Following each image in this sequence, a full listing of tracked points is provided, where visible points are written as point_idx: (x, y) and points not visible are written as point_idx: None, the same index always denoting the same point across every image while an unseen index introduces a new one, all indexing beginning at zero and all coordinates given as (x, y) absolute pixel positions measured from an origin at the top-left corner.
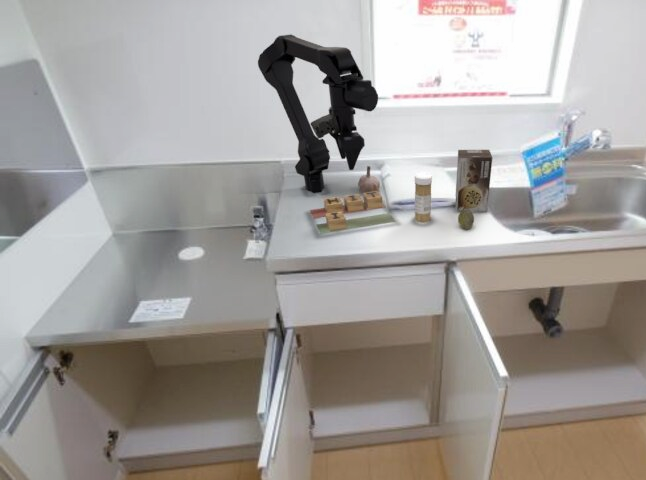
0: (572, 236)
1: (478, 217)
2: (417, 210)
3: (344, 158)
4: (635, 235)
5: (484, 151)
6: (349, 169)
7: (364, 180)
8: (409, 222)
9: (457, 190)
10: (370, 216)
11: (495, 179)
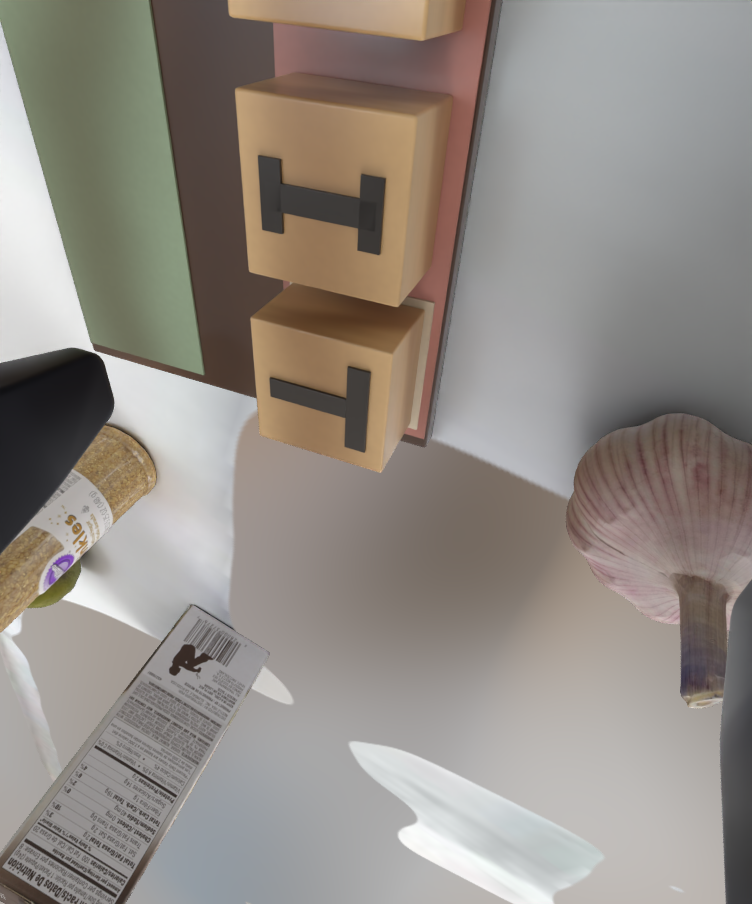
0: (18, 659)
1: (138, 614)
2: None
3: (742, 599)
4: (28, 716)
5: None
6: (66, 349)
7: (677, 524)
8: (123, 404)
9: (150, 696)
10: (173, 231)
11: (418, 842)
